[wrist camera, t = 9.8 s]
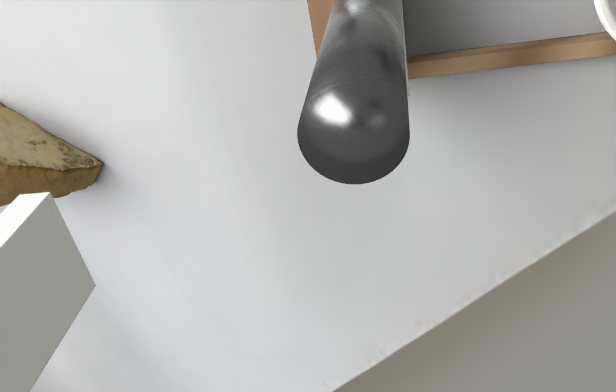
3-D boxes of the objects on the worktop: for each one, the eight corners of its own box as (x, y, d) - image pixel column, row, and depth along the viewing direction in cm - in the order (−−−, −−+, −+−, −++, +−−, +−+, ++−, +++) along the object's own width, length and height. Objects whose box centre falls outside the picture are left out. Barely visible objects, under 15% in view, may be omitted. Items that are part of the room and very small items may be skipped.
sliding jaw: (389, -142, 31) (391, -74, 13) (405, 43, 36) (422, 275, 18) (333, -131, 31) (258, -52, 13) (357, 49, 36) (326, 280, 19)
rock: (130, 173, 41) (16, 64, 36) (45, 270, 38) (-94, 166, 33) (79, 168, 50) (-20, 79, 44) (5, 247, 46) (-111, 161, 41)
